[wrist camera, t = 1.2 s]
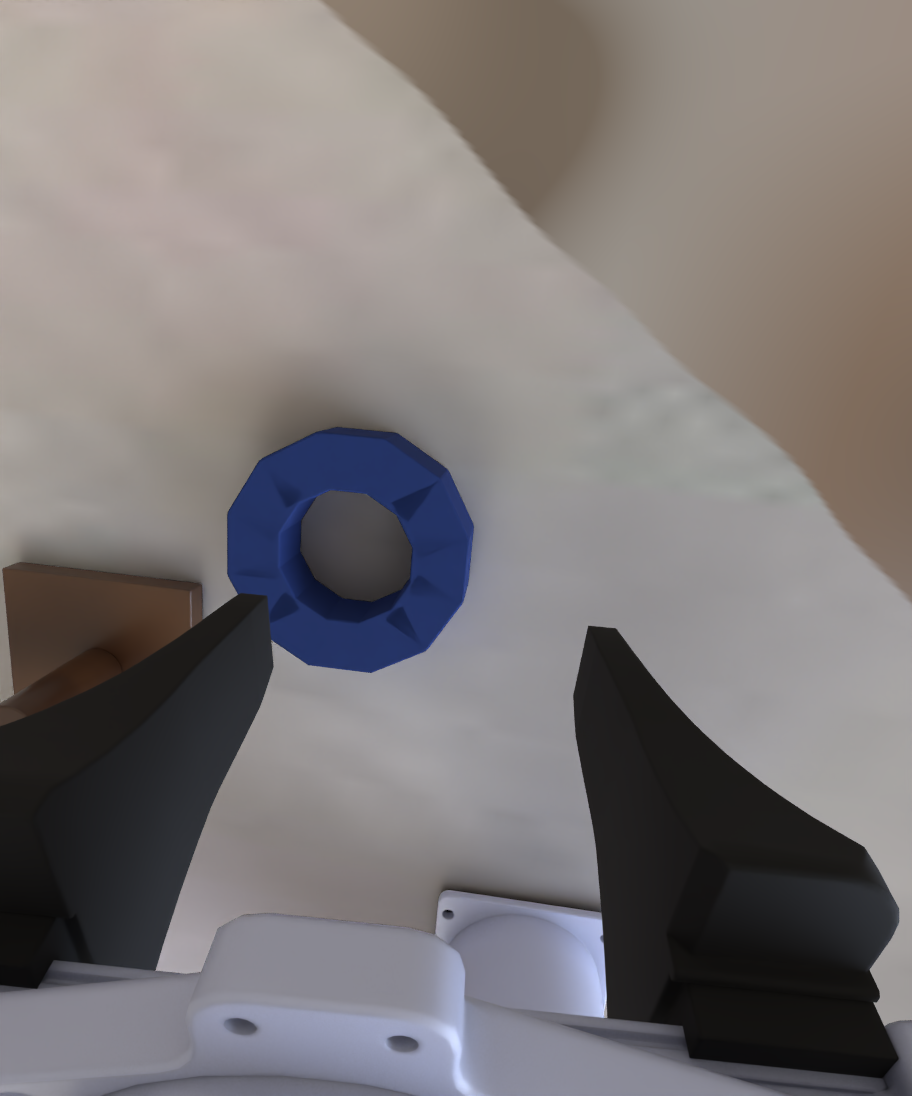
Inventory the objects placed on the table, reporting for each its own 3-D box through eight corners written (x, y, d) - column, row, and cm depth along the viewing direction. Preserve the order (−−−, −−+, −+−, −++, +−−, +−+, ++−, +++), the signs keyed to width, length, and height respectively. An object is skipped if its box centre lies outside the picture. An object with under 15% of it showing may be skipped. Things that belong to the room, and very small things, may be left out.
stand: (204, 754, 29) (124, 847, 23) (34, 730, 29) (-86, 816, 23) (202, 583, 27) (114, 638, 21) (19, 561, 27) (-116, 609, 21)
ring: (460, 658, 26) (455, 684, 24) (251, 632, 27) (226, 655, 25) (482, 441, 24) (478, 447, 22) (253, 418, 25) (226, 422, 22)
